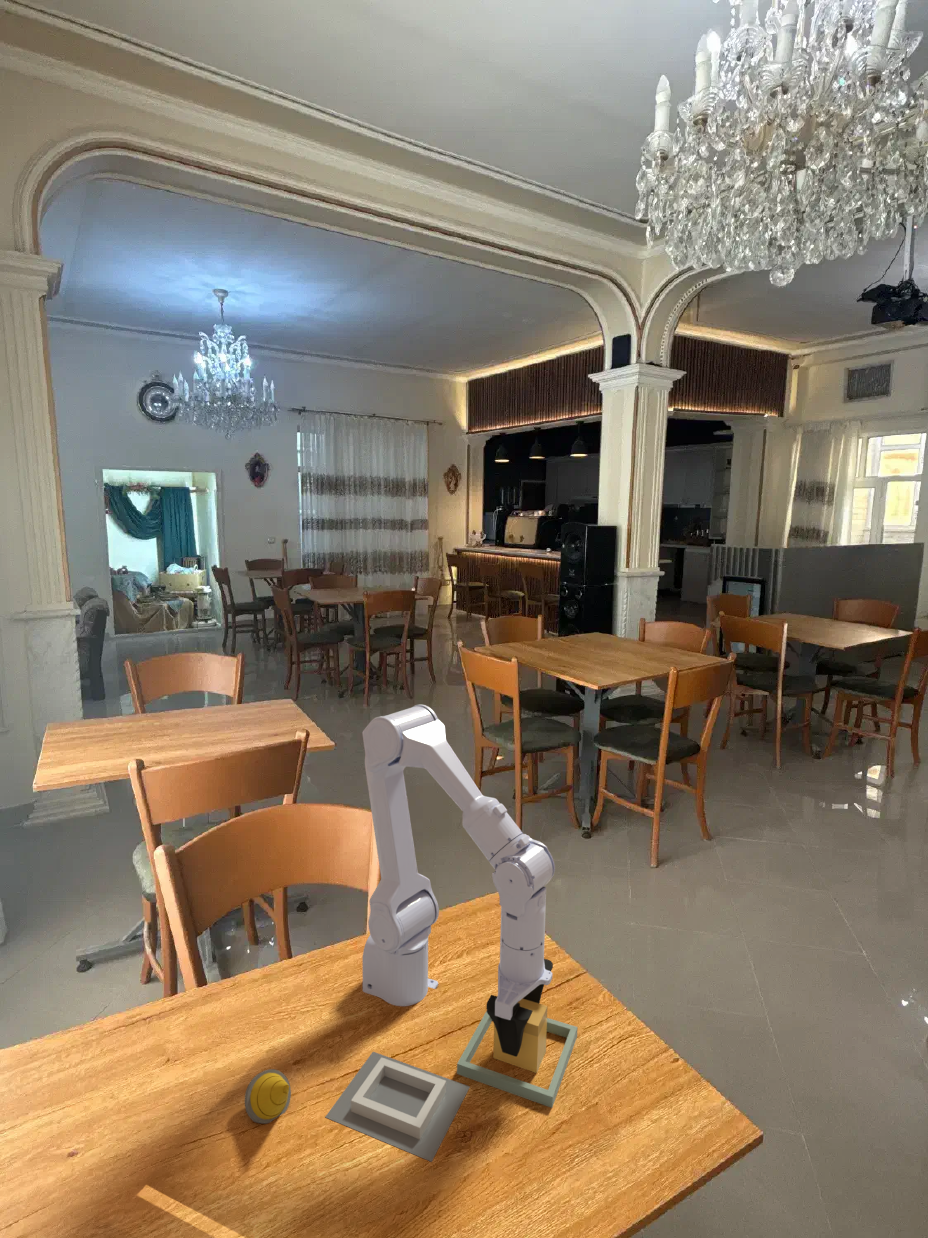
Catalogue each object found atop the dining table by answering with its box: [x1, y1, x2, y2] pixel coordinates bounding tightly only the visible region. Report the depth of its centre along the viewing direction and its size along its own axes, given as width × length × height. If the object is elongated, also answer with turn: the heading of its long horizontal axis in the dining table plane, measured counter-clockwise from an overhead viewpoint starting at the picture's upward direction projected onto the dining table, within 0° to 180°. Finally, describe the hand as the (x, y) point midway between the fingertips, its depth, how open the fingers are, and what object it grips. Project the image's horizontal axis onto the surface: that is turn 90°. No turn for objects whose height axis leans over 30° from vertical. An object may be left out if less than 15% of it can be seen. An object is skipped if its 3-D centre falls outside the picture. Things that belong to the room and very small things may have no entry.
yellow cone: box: [244, 1068, 292, 1125], centre depth 80 cm, size 5×5×10 cm
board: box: [324, 1051, 470, 1163], centre depth 82 cm, size 14×11×2 cm
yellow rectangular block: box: [492, 999, 548, 1074], centre depth 89 cm, size 6×4×7 cm, turn 66°
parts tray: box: [456, 1010, 578, 1109], centre depth 90 cm, size 13×13×2 cm
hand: (519, 1032), depth 89 cm, fingers open, 7 cm apart
